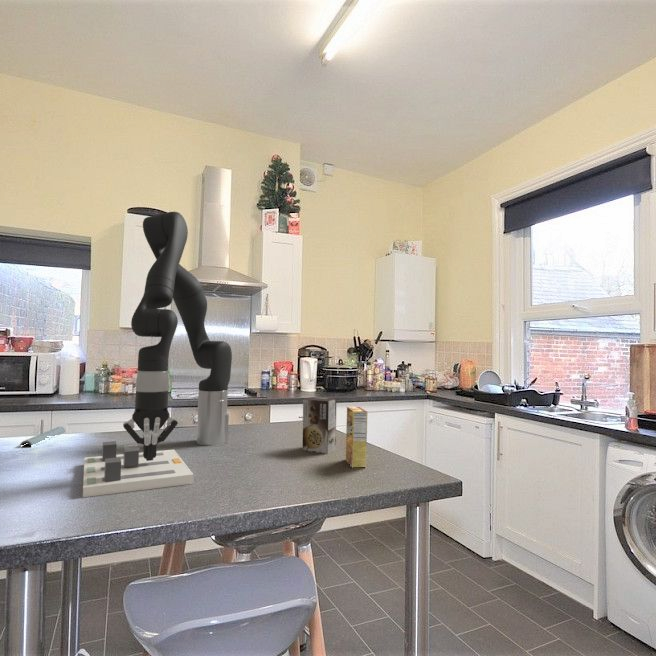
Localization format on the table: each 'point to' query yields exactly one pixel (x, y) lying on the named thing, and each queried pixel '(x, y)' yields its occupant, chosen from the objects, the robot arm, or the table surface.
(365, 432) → the candy box
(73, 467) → the table surface
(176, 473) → the breaker panel
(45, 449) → the table surface
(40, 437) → the aluminum foil
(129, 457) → the block
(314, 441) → the cookie box
